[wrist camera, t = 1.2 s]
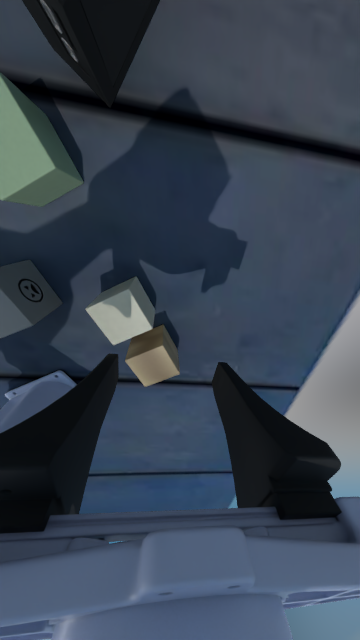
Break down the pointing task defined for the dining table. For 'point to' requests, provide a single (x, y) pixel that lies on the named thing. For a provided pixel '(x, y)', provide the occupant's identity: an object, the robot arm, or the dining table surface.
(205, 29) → the dining table surface
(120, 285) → the cream block
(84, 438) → the robot arm
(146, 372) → the maple block
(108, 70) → the digital camera
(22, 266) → the dice cube
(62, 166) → the sage block
